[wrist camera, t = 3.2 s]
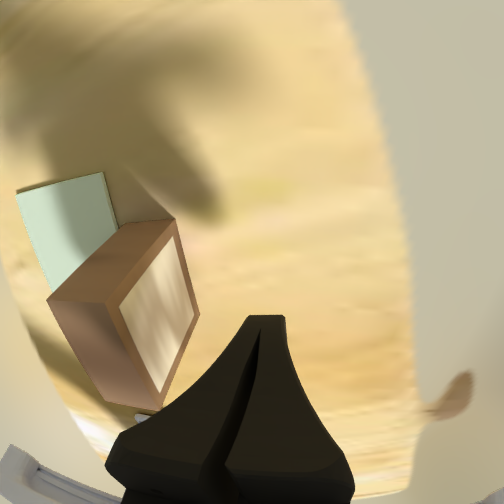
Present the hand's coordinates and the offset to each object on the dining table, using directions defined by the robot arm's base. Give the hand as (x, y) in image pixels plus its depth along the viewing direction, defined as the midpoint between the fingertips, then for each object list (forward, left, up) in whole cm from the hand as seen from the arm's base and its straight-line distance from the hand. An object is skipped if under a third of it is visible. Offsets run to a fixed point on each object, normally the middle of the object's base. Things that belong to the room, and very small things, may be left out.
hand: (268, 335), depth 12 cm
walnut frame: (0, +6, -5) cm, 8 cm away
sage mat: (0, +12, -5) cm, 13 cm away
